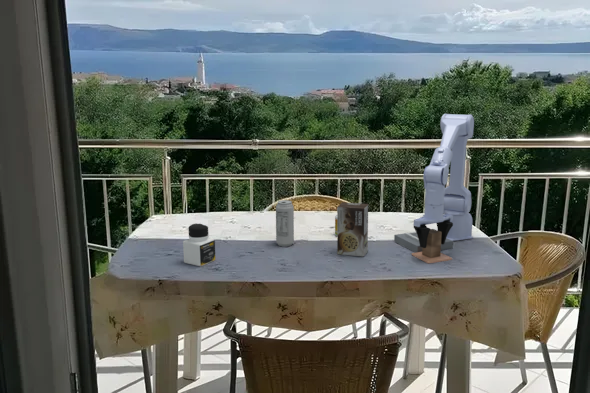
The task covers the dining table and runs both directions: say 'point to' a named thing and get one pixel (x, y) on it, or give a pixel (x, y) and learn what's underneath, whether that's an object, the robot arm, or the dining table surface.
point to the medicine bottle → (199, 246)
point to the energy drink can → (284, 223)
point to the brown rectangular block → (433, 244)
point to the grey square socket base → (416, 242)
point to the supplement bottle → (336, 225)
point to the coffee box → (352, 229)
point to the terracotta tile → (431, 260)
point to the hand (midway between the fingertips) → (432, 245)
